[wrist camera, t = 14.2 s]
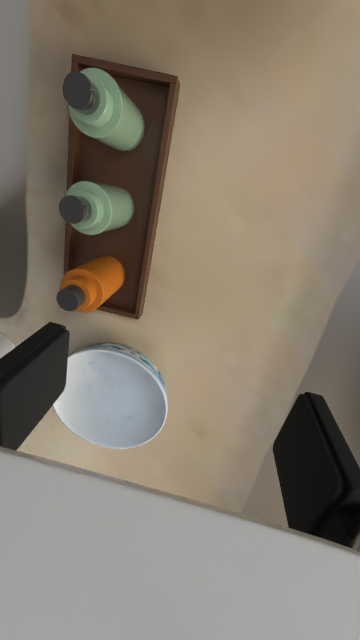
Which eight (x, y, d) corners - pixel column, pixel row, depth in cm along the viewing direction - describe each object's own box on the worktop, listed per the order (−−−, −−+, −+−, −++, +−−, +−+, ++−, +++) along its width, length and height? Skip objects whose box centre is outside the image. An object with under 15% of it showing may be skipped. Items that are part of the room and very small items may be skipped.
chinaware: (123, 301, 38) (101, 325, 31) (197, 377, 41) (192, 414, 34) (57, 361, 43) (26, 393, 36) (127, 424, 46) (111, 464, 39)
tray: (81, 63, 28) (71, 53, 26) (180, 84, 28) (177, 75, 26) (69, 296, 38) (62, 301, 37) (142, 313, 38) (138, 319, 36)
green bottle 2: (97, 181, 32) (45, 172, 22) (136, 190, 32) (101, 185, 22) (94, 223, 34) (44, 232, 24) (131, 231, 34) (96, 244, 24)
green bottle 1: (104, 95, 29) (46, 41, 19) (148, 104, 28) (112, 55, 19) (100, 146, 30) (45, 122, 21) (141, 156, 30) (105, 135, 21)
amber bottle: (91, 251, 35) (44, 270, 26) (127, 260, 35) (93, 282, 25) (89, 286, 37) (43, 316, 27) (123, 294, 37) (89, 327, 27)
